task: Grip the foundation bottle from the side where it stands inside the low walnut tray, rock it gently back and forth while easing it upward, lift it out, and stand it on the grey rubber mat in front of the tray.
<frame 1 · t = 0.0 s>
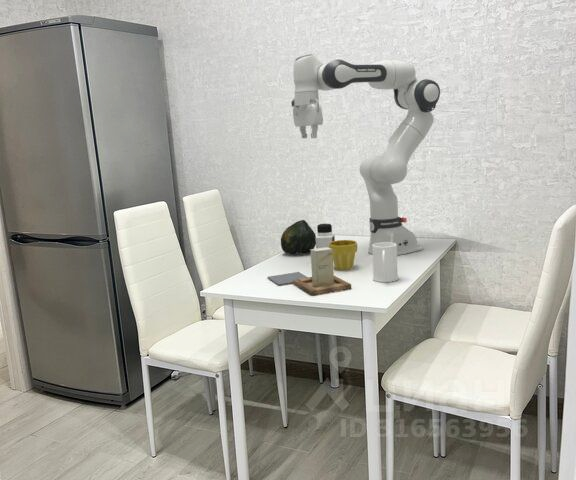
hand: (309, 138, 216), 48 cm above the table, tool pointing down, fingers open, 8 cm apart
mug: (384, 281, 193), on the table
squash: (299, 253, 244), on the table
mat: (289, 279, 203), on the table
medicine bottle: (325, 252, 243), on the table
walnut tray: (321, 286, 191), on the table
skincare box: (323, 285, 191), resting on walnut tray
plant pot: (344, 268, 213), on the table
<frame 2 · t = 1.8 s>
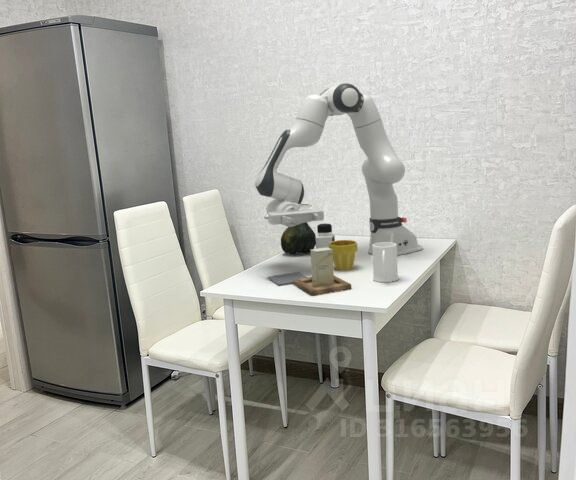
hand: (304, 219, 198), 21 cm above the table, tool horizontal, fingers open, 8 cm apart
nothing on the table moved.
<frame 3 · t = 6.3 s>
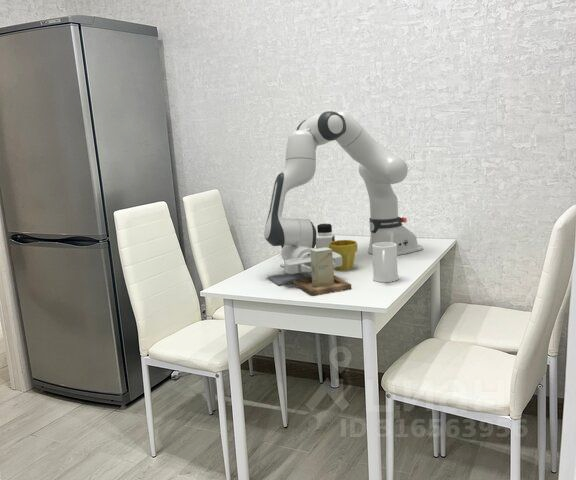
hand: (321, 268, 189), 7 cm above the table, tool horizontal, fingers open, 7 cm apart
skincare box: (323, 285, 191), resting on walnut tray, touching gripper
everything else where it was.
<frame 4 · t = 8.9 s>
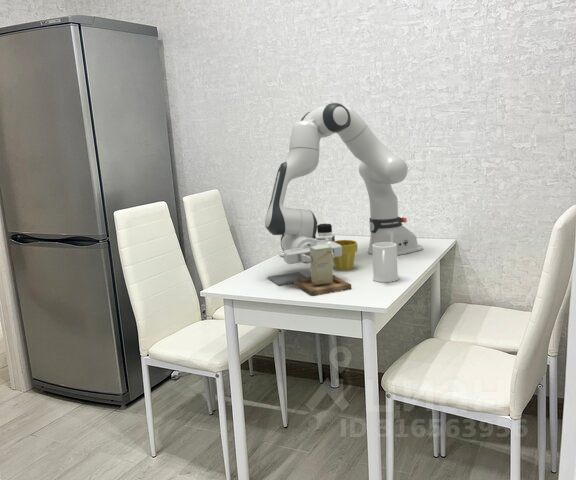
hand: (321, 257, 188), 10 cm above the table, tool horizontal, fingers closed on skincare box, 6 cm apart
skincare box: (322, 282, 191), point 1 cm above the table, touching gripper
everything else where it was.
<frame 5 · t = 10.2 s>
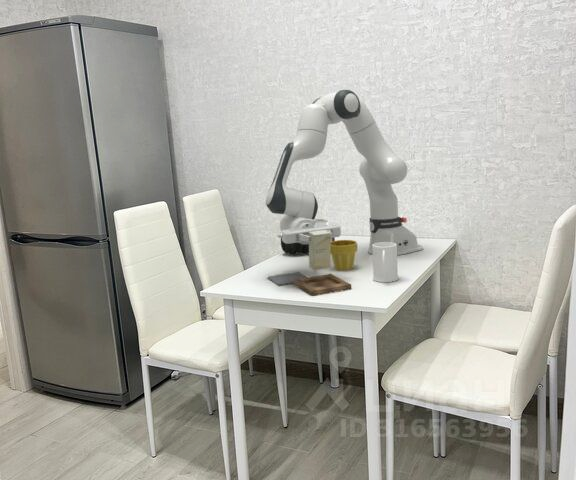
hand: (319, 237, 187), 17 cm above the table, tool horizontal, fingers closed on skincare box, 6 cm apart
skincare box: (320, 267, 190), point 6 cm above the table, touching gripper
everything else where it was.
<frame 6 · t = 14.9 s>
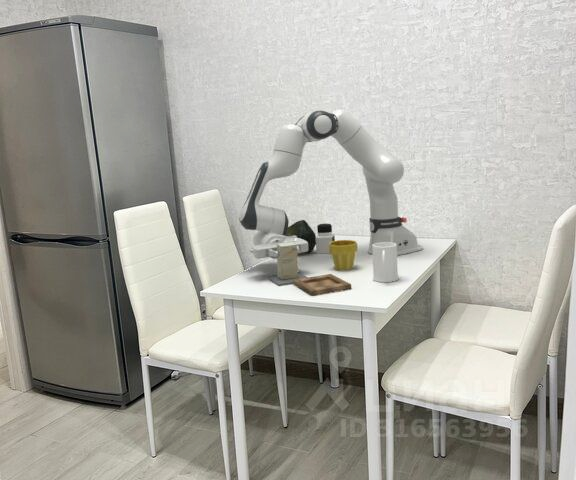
hand: (287, 252, 200), 10 cm above the table, tool horizontal, fingers closed on skincare box, 6 cm apart
skincare box: (288, 277, 203), point 1 cm above the table, touching gripper, mat
everything else where it was.
when the fingers open (8 cm above the table, at t = 16.0 s): skincare box stays where it is, resting on mat.
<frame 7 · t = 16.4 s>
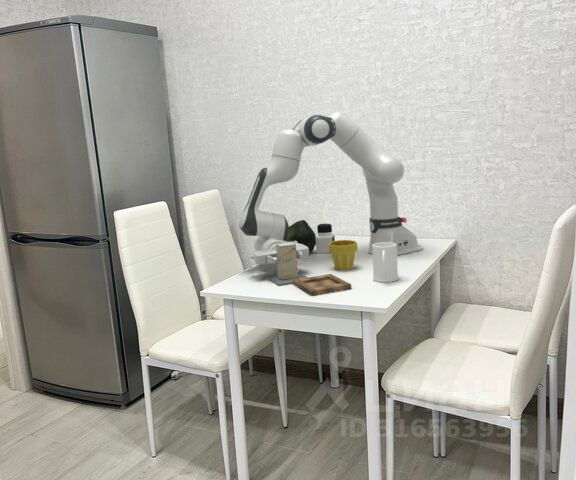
hand: (288, 258, 201), 8 cm above the table, tool horizontal, fingers open, 8 cm apart
skincare box: (288, 278, 203), resting on mat
everything else where it was.
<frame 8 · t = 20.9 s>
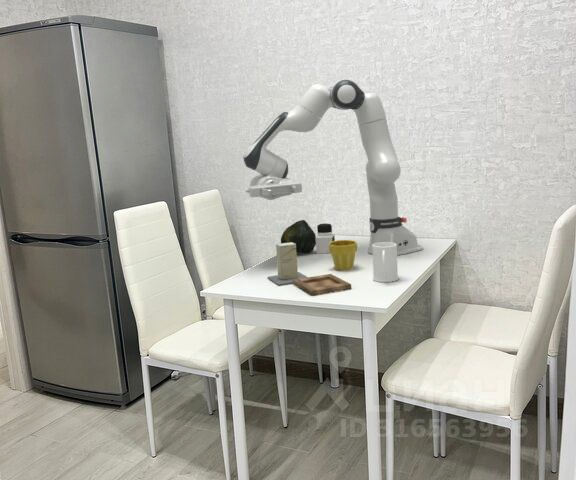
hand: (282, 191, 210), 30 cm above the table, tool horizontal, fingers open, 8 cm apart
nothing on the table moved.
at the end: skincare box inside the target area on the mat (0.5 cm from its centre), point 0.4 cm above the mat's base; skincare box tilted 0°; the gripper is holding nothing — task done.
